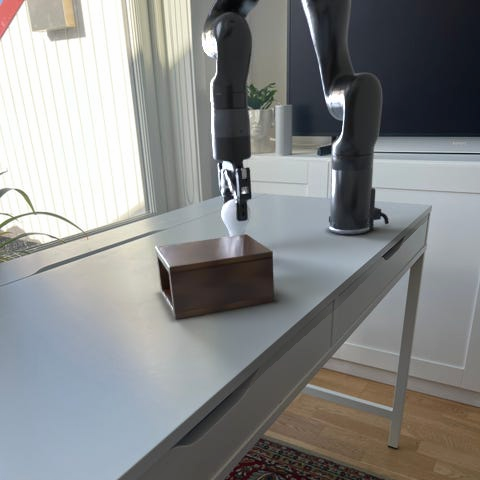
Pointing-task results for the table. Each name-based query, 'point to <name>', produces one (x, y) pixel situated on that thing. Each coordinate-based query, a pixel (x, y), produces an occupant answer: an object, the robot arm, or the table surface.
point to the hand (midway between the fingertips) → (235, 216)
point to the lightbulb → (234, 219)
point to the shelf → (215, 275)
